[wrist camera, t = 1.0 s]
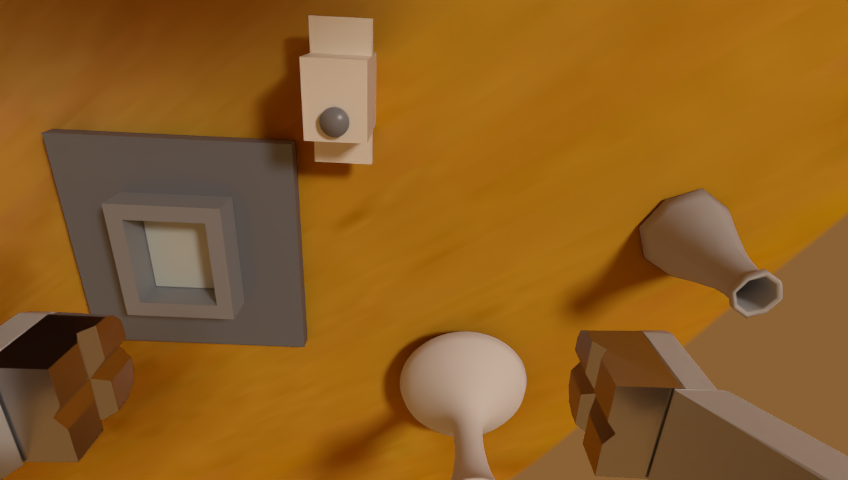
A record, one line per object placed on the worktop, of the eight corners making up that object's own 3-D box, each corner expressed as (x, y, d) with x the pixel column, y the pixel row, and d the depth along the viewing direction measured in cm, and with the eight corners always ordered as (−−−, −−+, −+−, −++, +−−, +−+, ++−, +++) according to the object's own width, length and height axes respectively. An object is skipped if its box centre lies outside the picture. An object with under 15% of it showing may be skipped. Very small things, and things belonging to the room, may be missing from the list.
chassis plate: (52, 129, 37) (15, 140, 34) (295, 140, 38) (282, 153, 34) (105, 330, 45) (79, 356, 41) (307, 339, 45) (297, 365, 42)
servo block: (317, 14, 34) (295, 15, 28) (376, 18, 34) (366, 19, 28) (322, 150, 38) (304, 176, 32) (375, 153, 38) (366, 179, 32)
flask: (662, 286, 43) (725, 360, 34) (622, 223, 40) (679, 285, 31) (743, 240, 41) (834, 305, 32) (706, 171, 38) (793, 221, 29)
